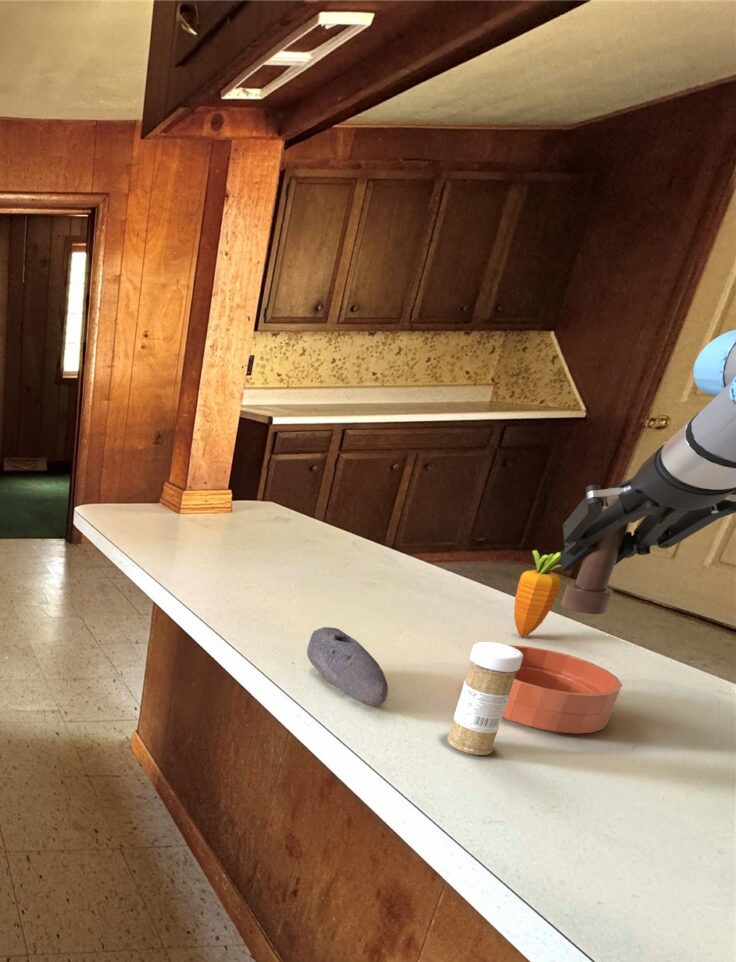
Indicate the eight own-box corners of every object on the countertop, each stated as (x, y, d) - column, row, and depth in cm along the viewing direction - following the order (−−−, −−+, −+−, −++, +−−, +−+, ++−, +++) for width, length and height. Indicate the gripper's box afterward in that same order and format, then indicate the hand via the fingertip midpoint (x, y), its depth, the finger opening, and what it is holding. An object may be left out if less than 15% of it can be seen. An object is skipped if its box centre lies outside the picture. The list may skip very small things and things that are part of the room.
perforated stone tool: (397, 715, 89) (409, 669, 86) (358, 716, 89) (369, 670, 86) (334, 664, 103) (342, 623, 100) (300, 665, 103) (308, 624, 100)
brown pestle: (600, 605, 89) (643, 488, 83) (609, 616, 86) (654, 495, 80) (557, 599, 91) (595, 485, 85) (564, 610, 88) (604, 492, 82)
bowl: (591, 697, 91) (606, 659, 89) (618, 749, 80) (636, 706, 78) (463, 674, 98) (473, 637, 96) (471, 718, 87) (484, 678, 85)
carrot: (495, 630, 112) (521, 545, 106) (528, 631, 111) (556, 545, 106) (515, 642, 107) (543, 555, 102) (549, 643, 107) (579, 555, 101)
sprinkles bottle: (489, 742, 82) (521, 645, 77) (493, 761, 79) (527, 660, 74) (444, 732, 85) (472, 637, 80) (446, 750, 81) (475, 651, 76)
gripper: (804, 434, 68) (656, 543, 88) (602, 432, 74) (507, 534, 94) (820, 496, 65) (663, 594, 86) (609, 489, 71) (510, 582, 91)
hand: (582, 562), depth 90 cm, fingers closed on brown pestle, 3 cm apart
